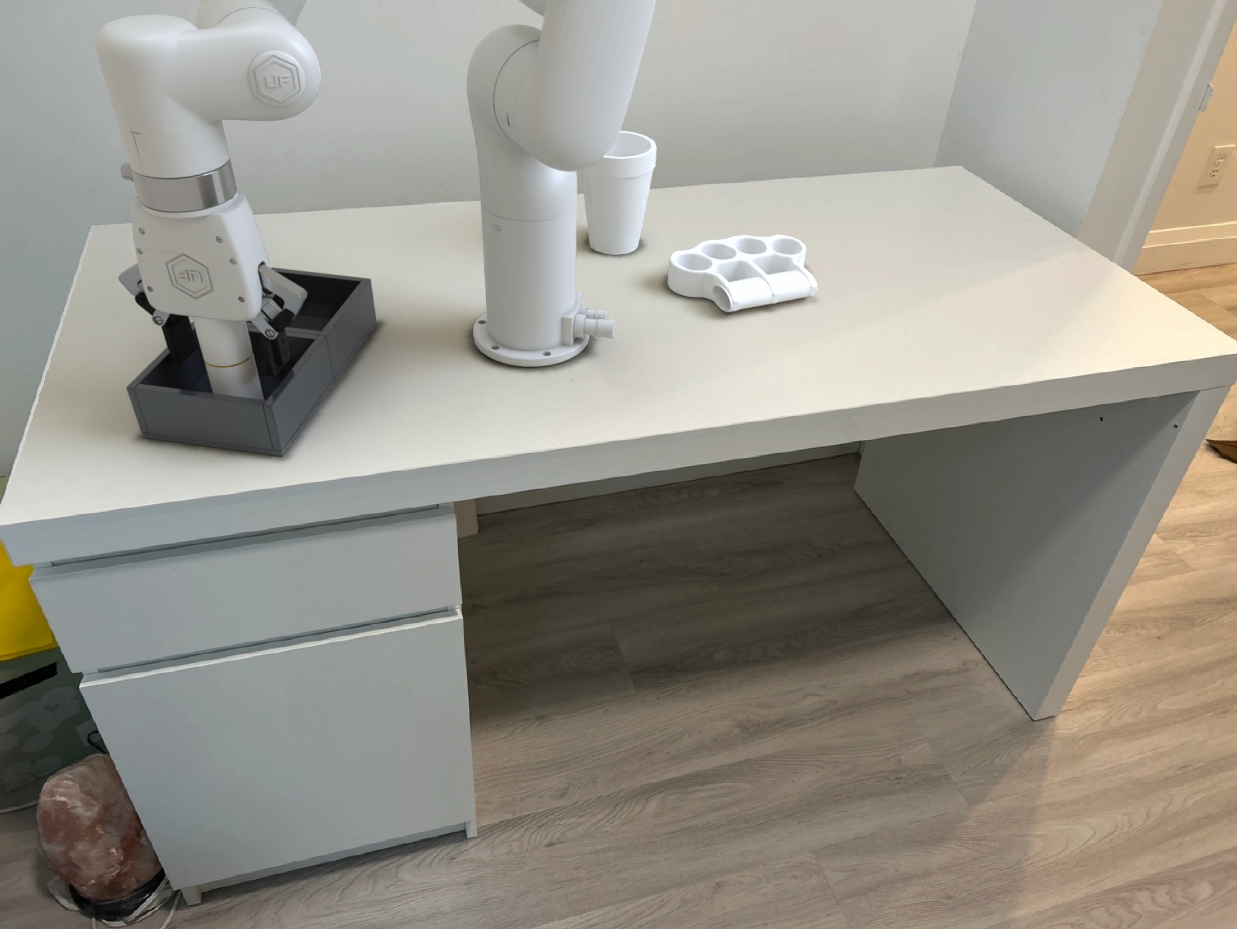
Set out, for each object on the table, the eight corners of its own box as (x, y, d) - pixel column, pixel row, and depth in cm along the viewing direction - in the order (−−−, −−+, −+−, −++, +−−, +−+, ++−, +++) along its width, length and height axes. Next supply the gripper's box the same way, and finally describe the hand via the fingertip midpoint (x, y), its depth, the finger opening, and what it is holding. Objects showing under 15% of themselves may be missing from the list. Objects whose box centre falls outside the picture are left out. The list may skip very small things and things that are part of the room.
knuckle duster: (704, 324, 108) (649, 268, 119) (838, 298, 114) (774, 247, 125) (707, 298, 106) (651, 243, 117) (843, 273, 112) (778, 222, 123)
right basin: (377, 324, 106) (371, 278, 102) (334, 384, 96) (326, 335, 93) (260, 310, 107) (250, 264, 104) (207, 367, 98) (194, 319, 94)
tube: (250, 420, 90) (214, 276, 81) (208, 413, 91) (168, 269, 81) (272, 395, 93) (240, 254, 84) (231, 389, 94) (195, 248, 85)
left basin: (334, 384, 96) (326, 335, 93) (282, 456, 87) (271, 406, 84) (207, 367, 98) (194, 319, 94) (142, 437, 88) (125, 387, 85)
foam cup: (663, 240, 125) (670, 141, 117) (625, 267, 119) (630, 164, 111) (602, 221, 129) (605, 124, 121) (563, 246, 123) (563, 146, 114)
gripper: (59, 190, 76) (122, 373, 87) (266, 212, 75) (304, 396, 85) (113, 156, 82) (165, 331, 93) (306, 175, 80) (337, 352, 91)
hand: (231, 362), depth 89 cm, fingers open, 8 cm apart
